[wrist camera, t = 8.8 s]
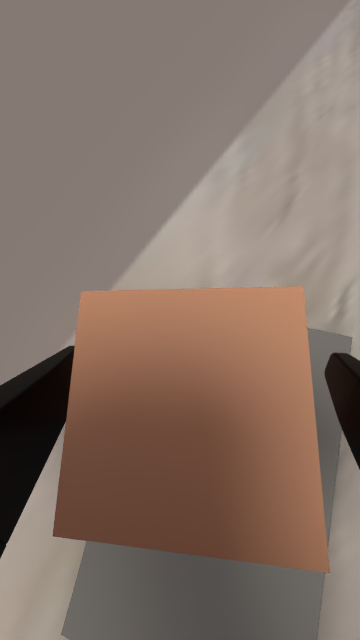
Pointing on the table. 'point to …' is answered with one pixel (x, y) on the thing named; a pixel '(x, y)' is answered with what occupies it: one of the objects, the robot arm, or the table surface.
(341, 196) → the table surface
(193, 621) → the base plate
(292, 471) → the terracotta block
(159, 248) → the table surface
